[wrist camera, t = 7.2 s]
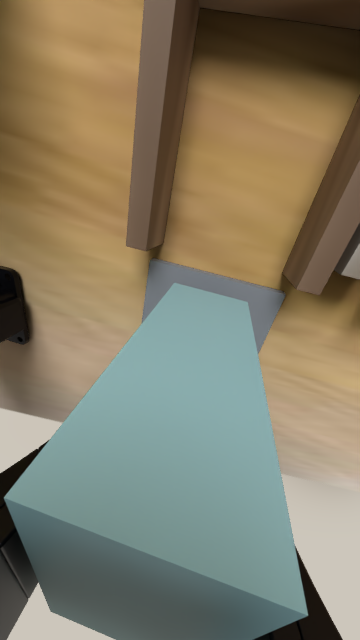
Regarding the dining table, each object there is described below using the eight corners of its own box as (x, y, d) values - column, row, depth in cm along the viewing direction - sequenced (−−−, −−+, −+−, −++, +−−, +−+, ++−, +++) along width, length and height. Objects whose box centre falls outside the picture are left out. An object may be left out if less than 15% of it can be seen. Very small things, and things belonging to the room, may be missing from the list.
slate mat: (139, 358, 17) (136, 363, 17) (153, 258, 13) (149, 259, 13) (238, 388, 16) (239, 394, 16) (283, 291, 13) (285, 294, 12)
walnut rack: (147, 239, 13) (125, 246, 10) (180, -38, 8) (155, -158, 5) (385, 298, 12) (430, 323, 9) (588, 12, 7) (812, -112, 4)
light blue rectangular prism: (155, 377, 15) (50, 611, 6) (174, 282, 12) (3, 498, 3) (212, 394, 15) (184, 669, 6) (247, 301, 11) (307, 615, 3)
